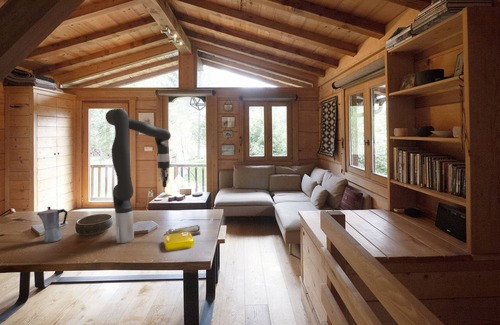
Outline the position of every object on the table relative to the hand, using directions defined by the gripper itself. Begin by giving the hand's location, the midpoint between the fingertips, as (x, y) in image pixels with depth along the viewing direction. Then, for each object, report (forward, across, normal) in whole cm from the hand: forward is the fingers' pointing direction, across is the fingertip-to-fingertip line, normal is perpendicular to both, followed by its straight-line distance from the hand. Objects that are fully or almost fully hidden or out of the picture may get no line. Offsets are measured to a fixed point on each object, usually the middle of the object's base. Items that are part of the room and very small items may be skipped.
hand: (164, 187), depth 183 cm
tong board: (+27, +19, +6) cm, 34 cm away
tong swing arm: (+25, +19, +8) cm, 33 cm away
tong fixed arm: (+25, +20, +6) cm, 33 cm away
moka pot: (+27, -10, -62) cm, 68 cm away
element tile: (+28, +34, -1) cm, 43 cm away
